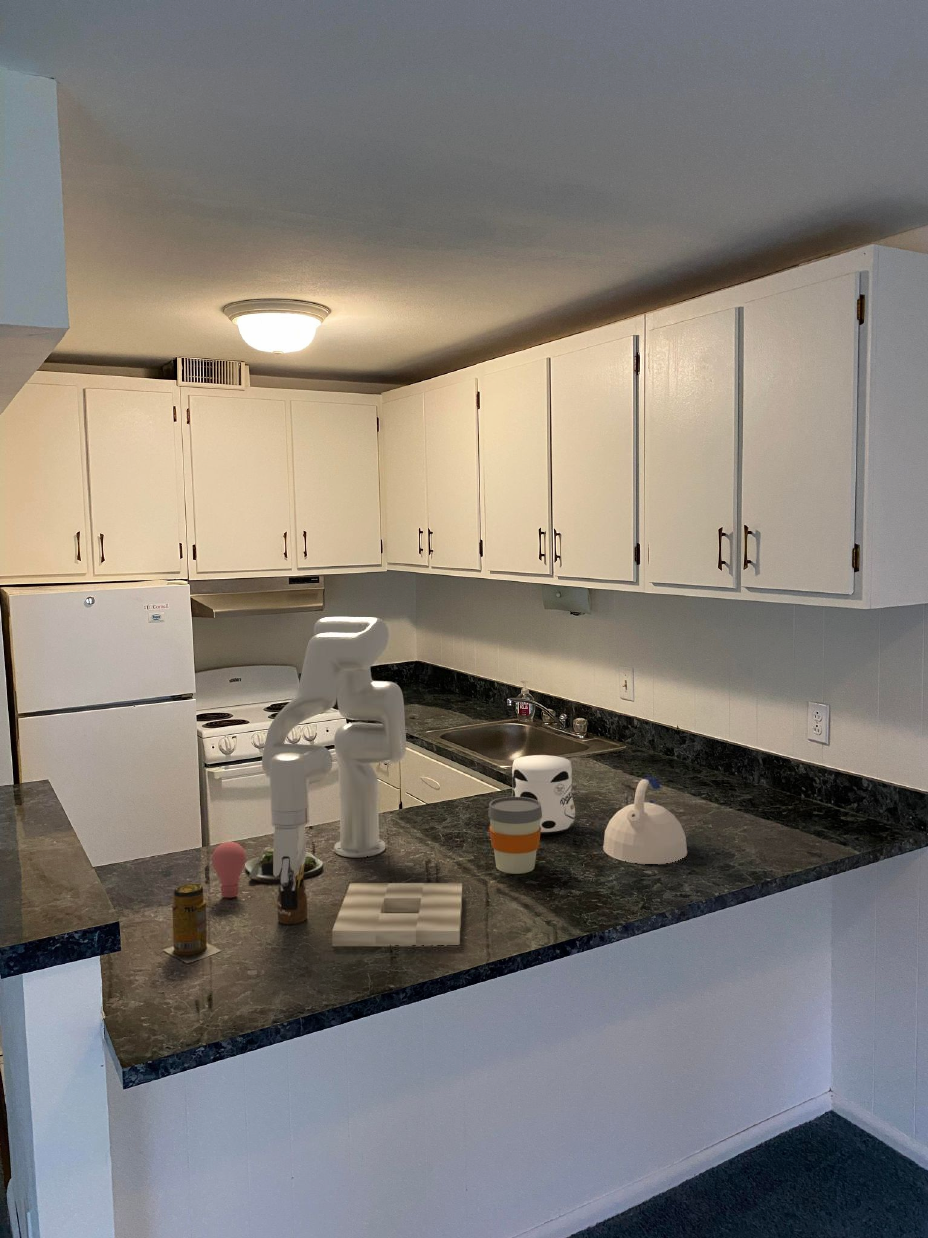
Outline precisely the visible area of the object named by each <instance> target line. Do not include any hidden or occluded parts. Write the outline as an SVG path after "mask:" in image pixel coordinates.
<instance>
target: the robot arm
mask: <svg viewBox="0 0 928 1238" xmlns="http://www.w3.org/2000/svg"><path fill="white" fill-rule="evenodd" d="M388 628H389V627H388V626H387V623H386V622H385V620H383V619H381V618H379V617H373V616H372V617H369V616H368V617H366V616H363V617H362V616H360V617H359V616H355V617H354V616H327V617H322V618H319V619H317V621H316V622H315V623H314V626H313V633H314V635H313V636H312V637H311V638H310V639H309V641H308V644H307V647H306V650H305V655H304V660H303V664H302V670H301V674H300V677H299V678H300V679H299V684H298V688H297V693H296V696H295V697H293V699H292V700H291V701H289V702H288V703H287V704H286V705H285V706H284V707H282V709H280V711H279V712H278V713H277V714H276V716H275V717H274V719H273V720H272V721H271V723H270V725H269V727H268V730H267V734H266V736H265V742H264V746H263V750H262V757H261V767H262V771H263V773H264V775H265V776H266V777H267V778H269V787H270V788H269V791H270V792H269V793H270V794H269V795H270V822H271V826H272V827H274V832H273V833H274V834H273V850H274V855H273V874H274V876H275V877H277V876H278V875H279V874H280V872H281V883H280V885H281V909H282V910H296V909H297V908H298V895H297V889H296V881H298V880H297V879H296V877H297V875H298V874H299V872H300V867H301V865H302V868H303V864H304V863H305V860H306V852H307V839H306V838H307V837H306V825H308V824H309V823H310V803H309V802H310V798H309V793H310V792H309V785H312V784H315V783H319V782H320V781H323V780H324V779H326V778H327V777H328V776H329V774H330V772H331V770H332V769H333V756H332V753H331V751H330V750H329V749H328V748H326V747H324V746H322V745H318V744H317V745H316V744H298V743H286V739H287V737H288V735H290V733H291V732H292V731H293V729H295V728H296V726H298V725H299V724H300V723H302V722H304V721H307V720H309V719H311V718H313V717H315V716H317V715H320V714H322V713H325V712H327V711H329V710H331V709H333V708H334V706H335V705H336V703H337V707H338V708H337V709H338V712H339V714H340V716H341V717H342V718H344V719H347V720H355V721H377V722H378V721H379V722H381V723H371V722H349V723H345V724H342V725H340V727H338V728H337V730H336V731H335V734H334V737H333V743H334V744H333V745H334V751H335V754H336V755H335V756H336V761H337V769H338V790H339V791H338V794H339V795H338V797H339V801H338V802H339V827H340V828H339V833H340V834H339V837H340V840H339V841H337V842H336V843H334V846H333V850H334V851H333V852H335V854H337V855H339V856H341V857H345V858H346V857H347V858H367V856H368V857H373V856H376V855H378V854H381V853H382V852H384V851H385V849H386V842H385V841H384V840H382V839H380V827H379V826H380V825H379V824H380V823H379V780H378V775H377V772H376V771H375V769H374V768H373V766H372V765H371V764H398V763H399V762H401V761H403V760H404V758H405V754H406V750H407V736H406V735H407V733H406V720H405V719H406V718H405V704H404V701H405V700H404V695H403V691H402V689H401V687H400V686H399V685H398V684H397V683H396V682H393V681H387V680H385V681H384V680H373V678H372V671H371V667H372V666H373V665H374V664H375V663H376V661H377V660H378V659H379V657H380V656H381V655H382V654H383V653H384V652H385V649H386V647H387V645H388V642H389V629H388ZM301 873H302V870H301ZM290 878H291V881H292V882H291V881H290ZM304 881H305V880H304V877H303V878H302V879H301V880H300V882H302V883H303V884H304V885H305V883H304Z"/></svg>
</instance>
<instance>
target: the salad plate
mask: <svg viewBox="0 0 928 1238" xmlns="http://www.w3.org/2000/svg"><path fill="white" fill-rule="evenodd" d="M273 855H274V848H270V850H266V849H265V850H262V851H261V852H260V853H259V856H258V857H255V858H252V859H250V860H248V861H246V862H245V865H244V867H245V869H246V871H247V872H249V876H248V878H250V879H252V880H255V881H257V882H259V883H264V884H281V874H279V875H278V876H277V877H275V876H274V874H273ZM323 868H324V862H323V861H322V860H320V859H319V858H317V857H316V856H315V855H313V854H312V853H310V852H308V851H306V860H305V863H304V872H303V877H304V879H309V878H312V877H314V876H316V875H318V874H319V873H320V872H321V871H322V870H323Z"/></svg>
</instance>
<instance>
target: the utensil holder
mask: <svg viewBox="0 0 928 1238" xmlns="http://www.w3.org/2000/svg"><path fill="white" fill-rule="evenodd" d="M301 870H302V873H301ZM303 872H304V864H303V868H302V865H301V867H300V872H299V874H298V875H297V877H296V879H297V880H298V881H296V889H297V895H298V908H297V909H296V910H282V909H281V884H279V886H278V895H277V900H276V901H277V902H276V903H277V904H276V905H277V906H276V907H277V919H278V922H279V923H280V924H284V925H296V924H300V923H302V922H304V921H306V920H307V917H308V896H307V893H306V892H305V890H306V887H305V883H304V884H303V883H302V882H300V880H301V879H302V878H303ZM280 874H281V872H280ZM290 881H291V878H290ZM291 882H292V881H291Z"/></svg>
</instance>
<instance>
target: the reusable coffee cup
mask: <svg viewBox="0 0 928 1238" xmlns="http://www.w3.org/2000/svg"><path fill="white" fill-rule="evenodd" d="M487 817H488V818H489V822H490V825H489V827H488V828H489V834H490V835H489V836H490V837H489V838H490V843H491V847H492V848H493V853H494V861H495V867H496V869H497V870H498V871H500V872H501V873H506V874H511V875H512V874H517V875H518V874H526V873H529V872H533V870H535V866H536V859H537V852H538V851H537V850H538V849H539V847H540V841H541V835H542V834H541V827H540V819H541V818H542V810H541V803H540V802H539V801H537V800H535V799H532V798H526V797H512V796H504V797H499V798H495V799H493V800H491V801H490V802H489V805H488V814H487Z"/></svg>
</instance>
